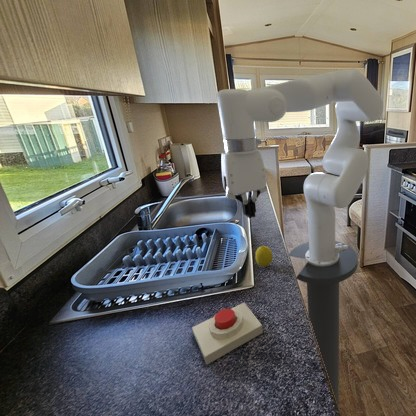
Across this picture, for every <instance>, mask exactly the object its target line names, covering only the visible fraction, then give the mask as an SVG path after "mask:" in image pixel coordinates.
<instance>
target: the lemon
mask: <svg viewBox="0 0 416 416" xmlns="http://www.w3.org/2000/svg"><path fill="white" fill-rule="evenodd" d="M254 255H255V256H254V257H255V261H256V264H257V265H258V266H259V267H262V268H263V267H264V268H266V267H268V266H269V265H271V263H272V262H273V259H274V258H273V256H274V255H273V252H272V250H271V248H270V247H269V246H266V245H261V246H259V247H258V248H257V249H256V250H255V254H254Z"/></svg>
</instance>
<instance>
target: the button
mask: <svg viewBox="0 0 416 416" xmlns="http://www.w3.org/2000/svg"><path fill="white" fill-rule="evenodd" d="M214 316H215V323H216V327H217V328H218V329H220V330H223V329H228V328H230V327H232V326H233V325H234V324H235V322H236V317H235V312H234V311H233V310H232V308H223V309H221V310H219V311H218V312H217V313H215V314H214Z"/></svg>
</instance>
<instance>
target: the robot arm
mask: <svg viewBox="0 0 416 416" xmlns="http://www.w3.org/2000/svg"><path fill="white" fill-rule="evenodd" d="M216 102H217V108H218V109H217V110H218V113H219V114H218V115H219V120H220V127H221V133H222V139H223V147H224V152H222V153H221V159H220V160H221V161H220V163H221V164H220V165H221V178H222V186H223V190H224V191H225V198H226V200H234V201H235V200H236V201H239V202H240V203H241V208H242V214H243V215H244V216H245V217H247V218H249V219H252V218H255V217H256V212H257V208H256V202H257V200H258V198H259V196H260V194H263V193H265V192H267V190H268V188H267V184H268V183H267V173H266V168H265V163H264V159H263V156H262V153H261V150H260V149H258V148H259V145H262V139H261V138H258V137H257V135H256V126H255V125H256V123H255V122H262V123H274V122H278V121H280V120H281V119H283V117H284V116H285V115H286V113H300V112H302V113H303V112H307V111H312V110H315V109H318V108H321V107H324V106H327V105H331V104H335V117H336V123H337V131H336V134H335V136H334V138H333V139H332V141H331V143H330V145H329V147H328V148H327V150H326V152H325V154H324V155H323V158H322V161H321V165H322V168H323V170H324V171H325V172H327V173H324V172H313V173H310V174H309V175H308V176H307V177H306V178H305V180H304V182H303V196H304V198H305V202H306V208H307V209H306V210H307V229H308V231H307V232H308V242H309V250H308V251H307V252H306V254H305V259H304V260H307V262H308V263H309V264H311V265H314V266H319V267H325V266H330V265H333V264H335V263H336V262H337V261H338V260H339V258H340V254H339V253H340V251H346V250H348V246H349V245H348V246H347V244H346V245H344V246H342V244H341V243H342V242H340V244H335V241H336V210H335V208H336V209H344V208H346V207H348V206H349V205H350V204H351V203H352V201H353V200H354V198H355V196H356V194H357V192H358V190H359V189H360V187H361V184H362V183H363V181H364V179H365V177H366V175H367V172H368V170H369V165H370V159H369V155H368V154H367V152H366V151H365V150H364V149H361V148H358V146H359V144H360V142H361V134H360V130H359V128H358V126H357V125H358V124H357V122H363V123H364V122H367V123H370V122H371V123H372V122H375V121H377V120H379V119H380V118H381V117H382V115H383V112H384V101H383V98H382V96H381V95H380V93H379V92H378V90H377V89H376V88H375V87H374V86H373V84H372V83H371V82H370V80H369V78H367V77H366V76H365V74H363V73H362V72H361V71H360V70H358V69H356V68H349V69H348V68H347V69H341V70H333V71H328V72H327V71H326V72H323V73H318V74H313V75H309V76H304V77H299V78H295V79H292V80H288V81H284V82H280V83H276V84H272V85H267V86H261V87H257V88H252V89H248V90H247V89H243V88H242V89H241V88H226V89H221V90H218V91H217V93H216Z"/></svg>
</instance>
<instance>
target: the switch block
mask: <svg viewBox="0 0 416 416" xmlns="http://www.w3.org/2000/svg"><path fill="white" fill-rule="evenodd" d="M231 309H232V310H233V311H234V312H235V317H236V322H235V324H234V325H233V326H232V327H230V328H228V329H223V330H220V329H218V328H217V327H216V323H215V315H214V316H213V317H211V318H209V319H207V320H204V321H202V322H200V323H198V324H196V325H194V326H192V327H191V330H192V334H193V337H194V338H195V339H194V340H195V342H196V344H197V346H198V348H199V351H200V352H201V355H202V357H203V360H204V362H205V365H210V364H211V363H213V362H215V361H216V360H218V359H220V358H221V357H223V356H225V355H226V354H229V353H230V352H232V351H233V350H235V349H237V348H239V347H240V346H243V345H244V344H246V343H248V342H249V341H251V340H253V339H254V338H256V337H258V336H260V335H262V334H263V331H264V330H263V324H261V322H260V320H258V318H257V317H256V315H255V314H254V313H253V312H252V310H251V309H250V308H249V306H248V305H247V304H246V302H242V303H240V304H238V305H236V306H234V307H231Z"/></svg>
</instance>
